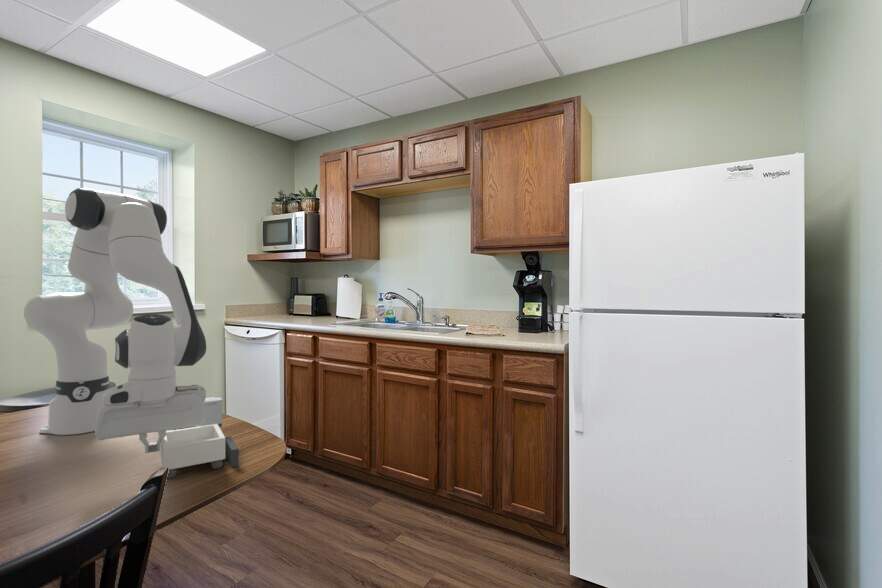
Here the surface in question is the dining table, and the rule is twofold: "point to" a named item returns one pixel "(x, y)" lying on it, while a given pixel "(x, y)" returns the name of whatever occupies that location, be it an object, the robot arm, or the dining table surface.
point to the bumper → (231, 451)
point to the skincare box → (213, 411)
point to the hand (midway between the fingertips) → (152, 451)
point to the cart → (192, 447)
